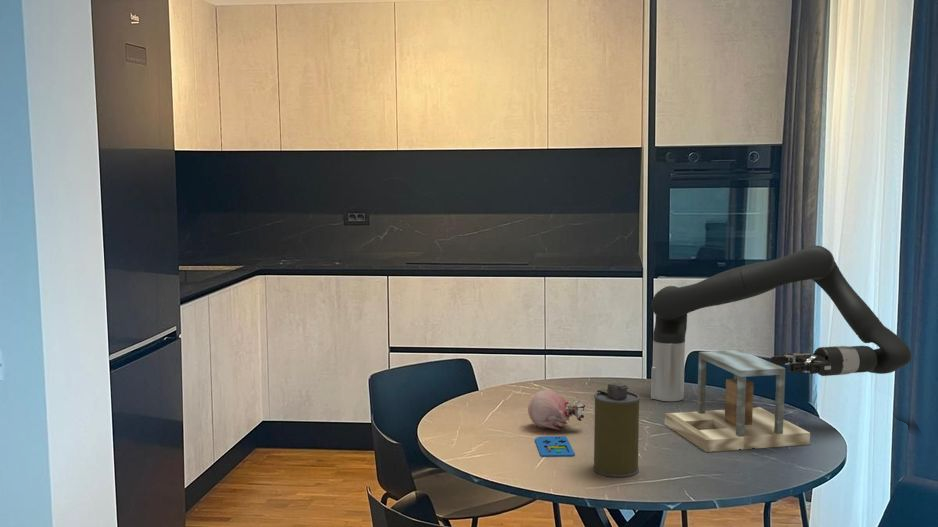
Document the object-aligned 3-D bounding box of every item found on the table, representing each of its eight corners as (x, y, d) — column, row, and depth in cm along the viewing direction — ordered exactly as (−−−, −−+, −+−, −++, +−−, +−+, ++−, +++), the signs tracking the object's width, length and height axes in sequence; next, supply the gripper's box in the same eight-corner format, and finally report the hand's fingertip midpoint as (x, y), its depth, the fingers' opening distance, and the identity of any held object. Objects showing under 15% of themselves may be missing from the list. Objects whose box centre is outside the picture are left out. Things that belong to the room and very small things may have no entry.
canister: (648, 472, 210) (650, 386, 208) (613, 480, 204) (615, 392, 202) (616, 459, 219) (617, 376, 217) (582, 466, 213) (583, 382, 211)
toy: (588, 417, 249) (533, 410, 253) (589, 383, 245) (533, 377, 248) (581, 443, 239) (524, 435, 242) (581, 408, 234) (524, 401, 238)
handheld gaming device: (566, 434, 236) (575, 453, 221) (566, 439, 236) (575, 457, 221) (533, 435, 235) (540, 454, 220) (533, 439, 235) (540, 458, 221)
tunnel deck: (705, 452, 224) (707, 373, 222) (664, 424, 247) (666, 352, 245) (809, 444, 230) (812, 367, 228) (759, 418, 253) (762, 348, 251)
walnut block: (734, 425, 235) (735, 383, 234) (724, 420, 240) (726, 379, 239) (752, 424, 236) (753, 382, 235) (742, 419, 241) (743, 378, 240)
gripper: (820, 341, 249) (766, 345, 245) (853, 351, 235) (795, 355, 232) (820, 368, 250) (765, 372, 246) (852, 380, 236) (795, 384, 232)
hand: (780, 364), depth 239 cm, fingers open, 8 cm apart
